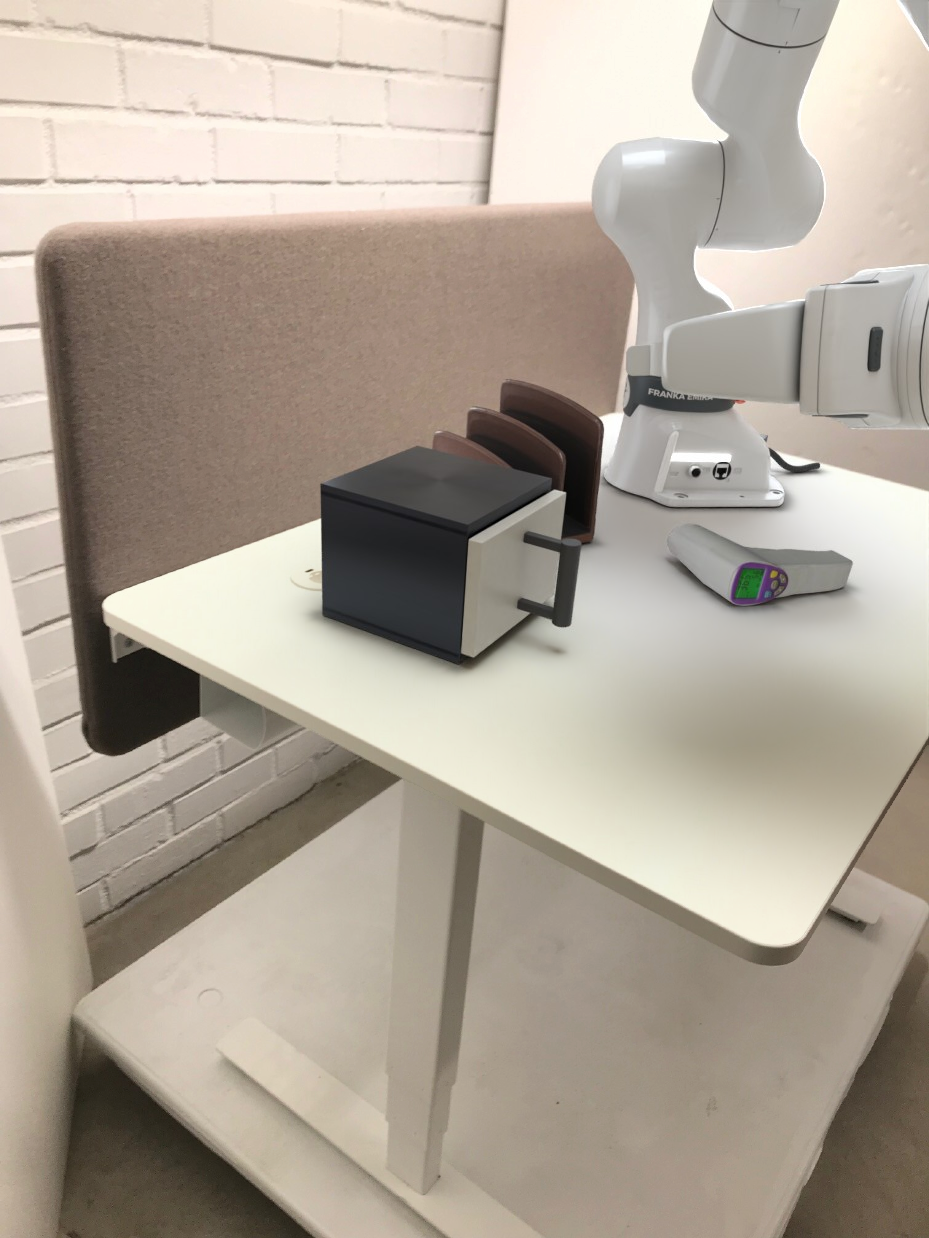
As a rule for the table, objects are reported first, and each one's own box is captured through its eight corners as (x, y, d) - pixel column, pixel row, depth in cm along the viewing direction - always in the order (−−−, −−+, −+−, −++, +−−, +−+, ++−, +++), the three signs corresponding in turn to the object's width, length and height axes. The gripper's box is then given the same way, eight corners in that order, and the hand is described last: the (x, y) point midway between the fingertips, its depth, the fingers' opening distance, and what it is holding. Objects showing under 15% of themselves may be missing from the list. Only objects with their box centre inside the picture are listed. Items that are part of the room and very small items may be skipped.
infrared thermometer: (851, 599, 90) (732, 610, 84) (769, 552, 100) (657, 559, 93) (865, 557, 88) (745, 565, 82) (780, 513, 98) (667, 517, 91)
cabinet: (538, 603, 83) (552, 478, 77) (459, 664, 72) (468, 524, 67) (412, 563, 89) (417, 445, 84) (322, 615, 78) (320, 483, 73)
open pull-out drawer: (603, 609, 80) (618, 505, 75) (527, 677, 69) (540, 559, 64) (426, 555, 88) (430, 458, 84) (333, 608, 77) (332, 499, 72)
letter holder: (499, 484, 112) (508, 369, 105) (594, 543, 97) (612, 412, 90) (427, 493, 107) (432, 374, 101) (515, 556, 92) (528, 420, 86)
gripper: (943, 298, 58) (739, 314, 67) (826, 282, 43) (583, 305, 52) (934, 399, 59) (735, 401, 68) (817, 417, 45) (584, 417, 54)
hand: (668, 360), depth 60 cm, fingers open, 8 cm apart
